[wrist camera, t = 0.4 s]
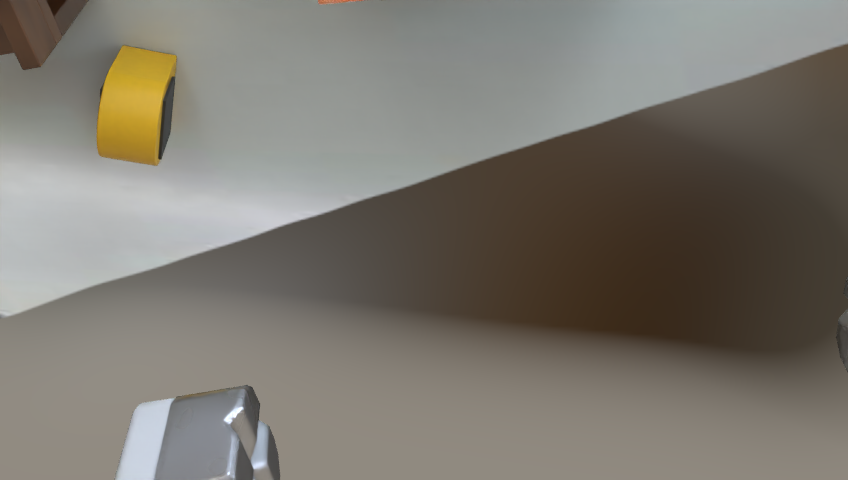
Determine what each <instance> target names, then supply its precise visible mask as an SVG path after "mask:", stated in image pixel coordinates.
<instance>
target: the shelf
mask: <svg viewBox="0 0 848 480" xmlns="http://www.w3.org/2000/svg"><path fill="white" fill-rule="evenodd" d="M88 1H89V0H0V55H4V54H9V53H15V55H16V57H17V59H18V61H19V63H20V65H21V67H22V69H23V70H27V69H32V68H38V67H41V66H42V64H43V63H44V62H45V60H46V59H47V57H48V56H49V55H50V53H51V52H52V50H53V49H54V48H55V46H56V45H57V44H58V42H59V41H60V40H61V38H62V36H63V35H64V34H65V33H66V31H67V30H68V28H69V27H70V26H71V24H72V23H73V21H74V20H75V19H76V17H77V16H78V14H79V13H80V12H81V10H82V9H83V7H84V6H85V5H86V3H87V2H88Z"/></svg>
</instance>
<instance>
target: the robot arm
mask: <svg viewBox="0 0 848 480" xmlns="http://www.w3.org/2000/svg"><path fill="white" fill-rule="evenodd" d="M844 294H845V296H846V297H847V298H848V277H847V279H846V283H845V288H844ZM836 338H837V343H838V348H839V353H840V357H841V359H842V362H843V364H844V366H845V368H846V370H847V372H848V309H847V310H846V311H845V313H844V314H843V315H842V316H841V317H840V318H839V321H838V329H837V336H836ZM259 409H260V403H259V401H258V398H257V396H256V394H255V392H254V390H253V388H252V387H251V386H248V385H244V386H239V387H233V388H226V389H220V390H214V391H208V392H202V393H196V394H190V395H184V396H178V397H176V398H171V399H165V400H159V401H152V402H146V403H140V404H139V405H138V407H137V408H136V410H135V411H134V412H133V414H132V417H131V421H130V425H129V428H128V432H127V436H126V439H125V443H124V446H123V450H122V453H121V457H120V461H119V464H118V468H117V471H116V475H115V478H114V480H280V470H279V460H278V452H277V448H276V444H275V440H274V437H273V435H272V432H271V430H270V427H269V426H268V425H266V424H265V423H263V422H261V421H259Z"/></svg>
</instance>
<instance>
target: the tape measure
mask: <svg viewBox="0 0 848 480" xmlns="http://www.w3.org/2000/svg"><path fill="white" fill-rule="evenodd" d="M176 60H177V56H175V55H170V54H165V53H160V52H155V51H150V50H145V49H140V48H134V47H129V46H124V45H123V46H122V47H121V49H120V51H119V53H118V55H117V57H116V58H115V60H114V62H113V64H112V66H111V68H110V69H109V71H108V74H107V76H106V79H105V82H104V84H103V86H102V88H101V89H100V105H99V112H98V120H97V149H98V153H99V155H100V156H101V157H105V158H111V159H117V160H124V161H130V162H136V163H142V164H148V165H154V166H157V165H158V164H159V162H160V160H161V159H162V156H163V153H164V150H165V147H166V144H167V141H168V138H169V135H170V129H171V118H172V107H173V96H174V85H175V71H176Z"/></svg>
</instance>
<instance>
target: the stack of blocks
mask: <svg viewBox="0 0 848 480" xmlns="http://www.w3.org/2000/svg"><path fill="white" fill-rule="evenodd" d="M356 1H366V0H318V4H319V5H325V4H335V3H345V2H356Z"/></svg>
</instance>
